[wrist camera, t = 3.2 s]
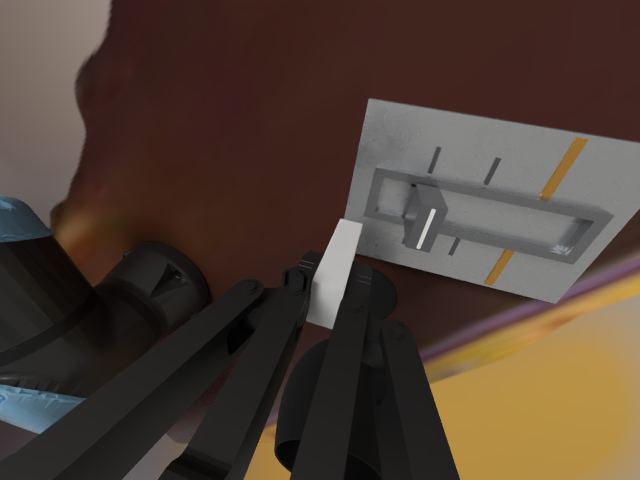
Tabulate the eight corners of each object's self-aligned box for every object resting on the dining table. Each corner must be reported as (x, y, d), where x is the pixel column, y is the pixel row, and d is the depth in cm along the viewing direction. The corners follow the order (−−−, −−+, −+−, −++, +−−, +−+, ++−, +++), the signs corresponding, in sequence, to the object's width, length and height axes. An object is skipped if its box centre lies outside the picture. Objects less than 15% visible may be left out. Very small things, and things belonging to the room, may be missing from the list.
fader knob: (401, 216, 27) (402, 247, 22) (414, 179, 25) (418, 203, 19) (424, 221, 26) (431, 254, 21) (439, 184, 24) (451, 210, 19)
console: (340, 240, 33) (336, 253, 30) (370, 97, 24) (367, 99, 22) (546, 291, 29) (560, 310, 27) (666, 146, 21) (703, 154, 18)
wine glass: (409, 311, 36) (422, 509, 19) (345, 327, 40) (309, 496, 24) (375, 253, 32) (353, 430, 16) (309, 277, 37) (238, 433, 20)
